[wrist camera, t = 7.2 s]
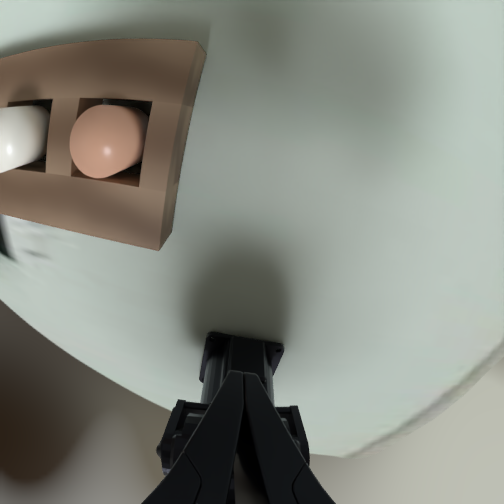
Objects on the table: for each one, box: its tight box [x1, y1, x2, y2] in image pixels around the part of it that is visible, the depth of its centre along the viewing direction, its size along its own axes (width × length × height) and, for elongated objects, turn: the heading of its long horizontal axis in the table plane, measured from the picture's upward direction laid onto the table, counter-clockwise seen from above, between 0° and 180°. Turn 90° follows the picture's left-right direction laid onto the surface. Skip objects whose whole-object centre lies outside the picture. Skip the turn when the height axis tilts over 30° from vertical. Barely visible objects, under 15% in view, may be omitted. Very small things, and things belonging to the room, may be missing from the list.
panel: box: [0, 39, 206, 251], centre depth 14 cm, size 12×22×3 cm, turn 77°
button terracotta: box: [70, 105, 149, 178], centre depth 14 cm, size 4×4×4 cm
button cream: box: [0, 105, 50, 173], centre depth 12 cm, size 4×4×4 cm
